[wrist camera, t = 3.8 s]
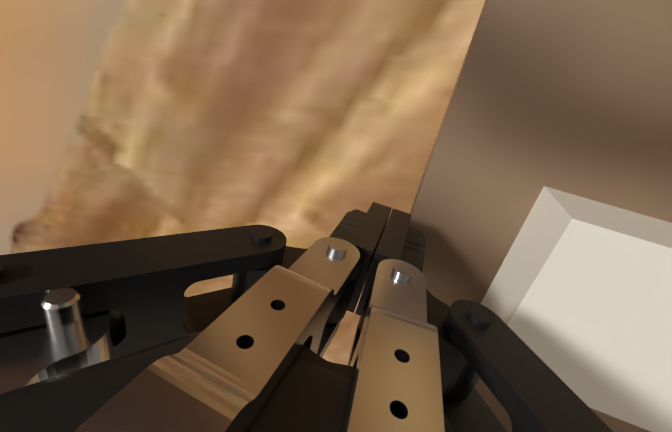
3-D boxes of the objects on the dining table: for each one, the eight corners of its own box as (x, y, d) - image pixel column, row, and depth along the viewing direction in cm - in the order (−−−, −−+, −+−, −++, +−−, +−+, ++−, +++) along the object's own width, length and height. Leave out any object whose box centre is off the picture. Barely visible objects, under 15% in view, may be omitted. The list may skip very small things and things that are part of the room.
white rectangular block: (544, 186, 12) (572, 218, 9) (892, 286, 10) (1054, 363, 7) (476, 312, 14) (482, 365, 12) (741, 409, 13) (819, 498, 10)
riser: (493, -23, 11) (502, -41, 10) (1169, 102, 8) (1360, 109, 7) (356, 363, 20) (347, 391, 19) (661, 492, 17) (685, 539, 16)
